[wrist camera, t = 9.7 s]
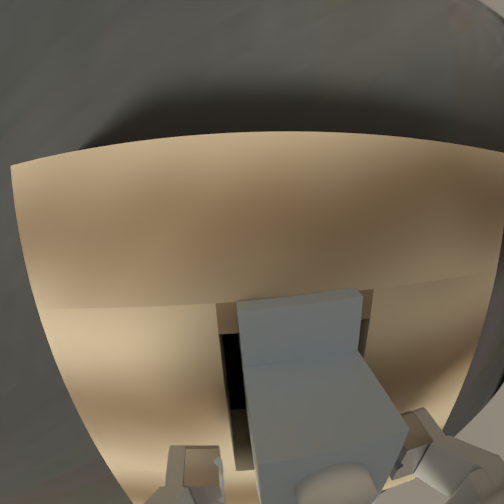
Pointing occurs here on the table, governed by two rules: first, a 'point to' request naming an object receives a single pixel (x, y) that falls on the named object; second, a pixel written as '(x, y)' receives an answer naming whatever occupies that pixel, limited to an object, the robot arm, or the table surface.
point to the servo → (315, 401)
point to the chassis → (250, 274)
